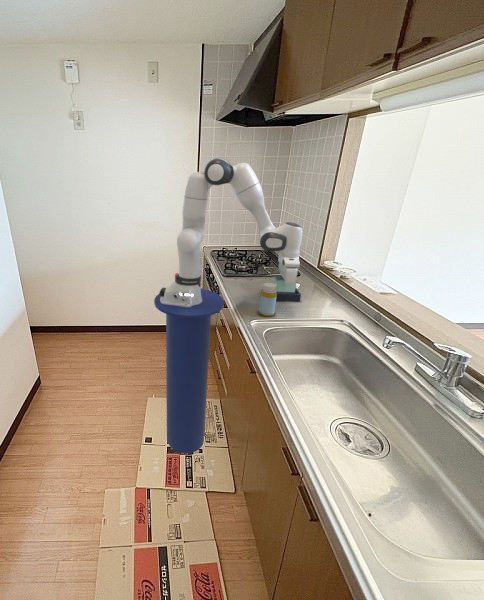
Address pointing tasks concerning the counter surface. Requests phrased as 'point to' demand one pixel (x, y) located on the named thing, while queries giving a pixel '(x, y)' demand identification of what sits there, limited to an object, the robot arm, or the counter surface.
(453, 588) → the counter surface
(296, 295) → the tote
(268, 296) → the bottle
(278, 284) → the case
